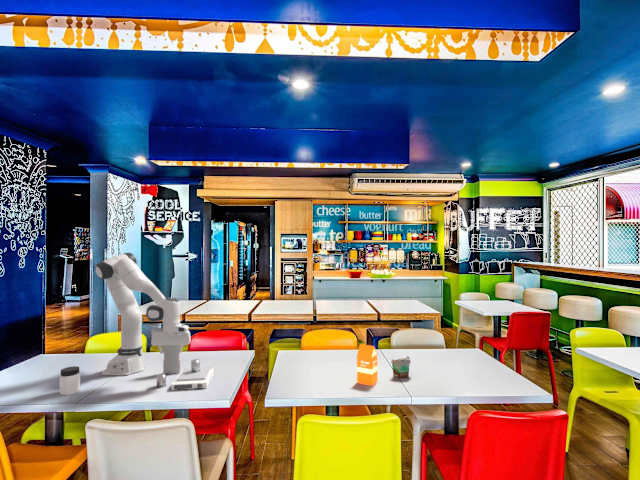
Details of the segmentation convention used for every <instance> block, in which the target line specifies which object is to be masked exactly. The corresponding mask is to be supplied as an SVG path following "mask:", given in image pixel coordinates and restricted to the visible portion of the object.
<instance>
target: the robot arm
mask: <svg viewBox="0 0 640 480" xmlns="http://www.w3.org/2000/svg"><path fill="white" fill-rule="evenodd" d="M137 263H138V262H137V258H136V257H135V255H134V254H133V253H132V252H124V253H122V254H117V255H115V256H112V257H109V258H107V259H105V260H102V261H100V262H98V263H96V264H95V268H94V269H95V270H94V271H95V274H96V275H97V277H98V278H99V279H101V280H105V282H106V285H107V289H108V291H109V293H110V295H111V297H112V300H113V303H114V305H116V306H115V307H116V308H117V310H118V313H119V315H120V318H121V319H120V329H121V330H120V347H119V348H118V349H117V350H116V353H117V355H115V356H114V357H112V359H110V360H109V361H107V365H106V368H105V369H104V370H103V371H102V373H101V375H102V376H121V377H122V376H129V375H132V374H136V373H140V372H142V371H143V370H144V369H145V366H144V365H145V364H144V361H143V345H142V343H143V342H142V333H143V331H142V326H143V313H142V310H141V309H140V306H139V304H138V301H137V299H136V297H135V295H134V292H139V293H140V292H141V293H144V294H146V295H148V296H149V297H150V298H151V300H152V301H153V302H154V303H153V304H152V305H149V306H147V309H146V311H145V314H146V318H147V319H148V321H150V322H159V321H162V327H158V328H157V327H154V328H153V329H152V330H151V332H150V333H151V334H150V335H151V340H150V345H151V346H153V347H154V346H157V348H158V350H159V354H160V355H162V354H163V355H164V349H163V345H181V348H180V349H179V350H178V353H179V354H182V350H183V348H184V346H186V345H190V343H191V338H192V337H191V332H190V330H189V328H190V326H189V325H187V324H183V323H181V320H180V319H181V318H180V317H181V303H180V300H179V299H178V298H176V297H167V296H166V295H165V294H164V293H163V292H162V291H161V290H160V289H159V288H158V286H157V285H156V284H155V283H154V282H153V281H151V279H149V278H148V277H147V276H146V274H144V272H143V271H142V270H141V268H140V267H139V266H138V264H137Z"/></svg>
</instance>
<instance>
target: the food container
mask: <svg viewBox="0 0 640 480" xmlns="http://www.w3.org/2000/svg"><path fill="white" fill-rule="evenodd" d="M390 363H391V366H392V373H393V374H392V376H393V378H396V379H407V378H409V375H410V364H411V358H410V357H409V356H408V355H407V356H406V357H404V358H399V359H392V358H391V362H390Z"/></svg>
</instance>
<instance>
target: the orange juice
mask: <svg viewBox="0 0 640 480" xmlns="http://www.w3.org/2000/svg"><path fill="white" fill-rule="evenodd" d="M356 382H357V384H362V385H365V386H366V385H367V386H373V385H375V383H377V382H378V353H377V350H376V347H375V346H374V345H369V344H367V345H366V344H363V343H362V344H361V343H360V344H359V347H358V351H357V354H356Z"/></svg>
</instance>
